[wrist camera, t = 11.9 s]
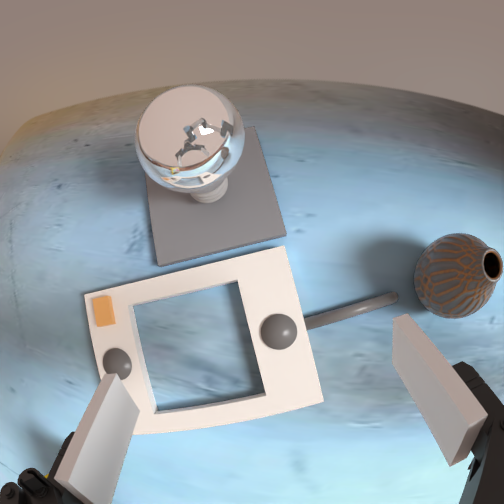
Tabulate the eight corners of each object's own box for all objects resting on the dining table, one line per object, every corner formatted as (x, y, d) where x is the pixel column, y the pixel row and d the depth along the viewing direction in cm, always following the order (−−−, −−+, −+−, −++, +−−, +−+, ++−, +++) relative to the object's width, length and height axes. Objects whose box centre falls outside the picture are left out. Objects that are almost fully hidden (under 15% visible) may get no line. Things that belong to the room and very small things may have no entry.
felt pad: (254, 130, 29) (254, 126, 28) (285, 236, 26) (286, 233, 25) (145, 159, 28) (143, 155, 28) (161, 267, 26) (158, 265, 25)
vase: (389, 283, 25) (440, 266, 16) (429, 230, 26) (482, 197, 17) (436, 334, 24) (496, 336, 15) (472, 280, 25) (531, 263, 16)
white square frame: (374, 225, 26) (381, 219, 24) (410, 365, 23) (420, 368, 21) (90, 296, 26) (80, 293, 24) (122, 431, 23) (114, 437, 21)
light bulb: (181, 154, 27) (139, 64, 16) (255, 159, 27) (250, 62, 15) (164, 224, 26) (99, 157, 14) (244, 233, 26) (228, 163, 14)
